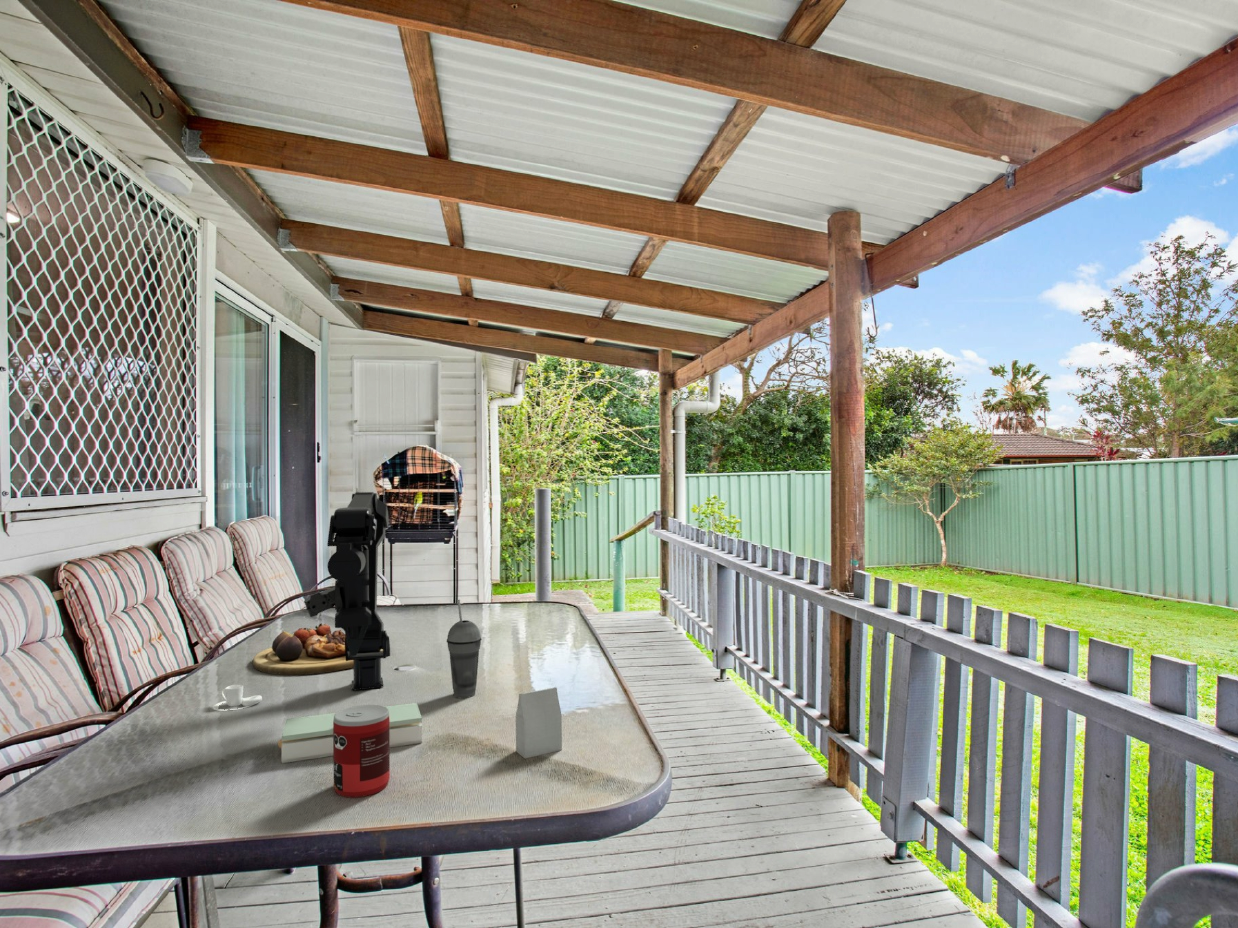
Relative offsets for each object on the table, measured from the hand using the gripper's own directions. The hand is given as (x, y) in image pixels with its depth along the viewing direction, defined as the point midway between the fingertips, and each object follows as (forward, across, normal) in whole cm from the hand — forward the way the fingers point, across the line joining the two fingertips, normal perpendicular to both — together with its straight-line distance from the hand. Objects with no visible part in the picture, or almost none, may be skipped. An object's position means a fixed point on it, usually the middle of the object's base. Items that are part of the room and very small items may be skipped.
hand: (353, 655), depth 133 cm
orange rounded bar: (+12, +13, 0) cm, 18 cm away
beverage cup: (+12, -6, +22) cm, 26 cm away
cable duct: (+12, +13, 0) cm, 18 cm away
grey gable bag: (+12, +29, +29) cm, 43 cm away
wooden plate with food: (+13, -51, -7) cm, 53 cm away
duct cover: (+9, +13, 0) cm, 16 cm away
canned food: (+12, +32, +1) cm, 34 cm away
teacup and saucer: (+13, -15, -22) cm, 30 cm away
